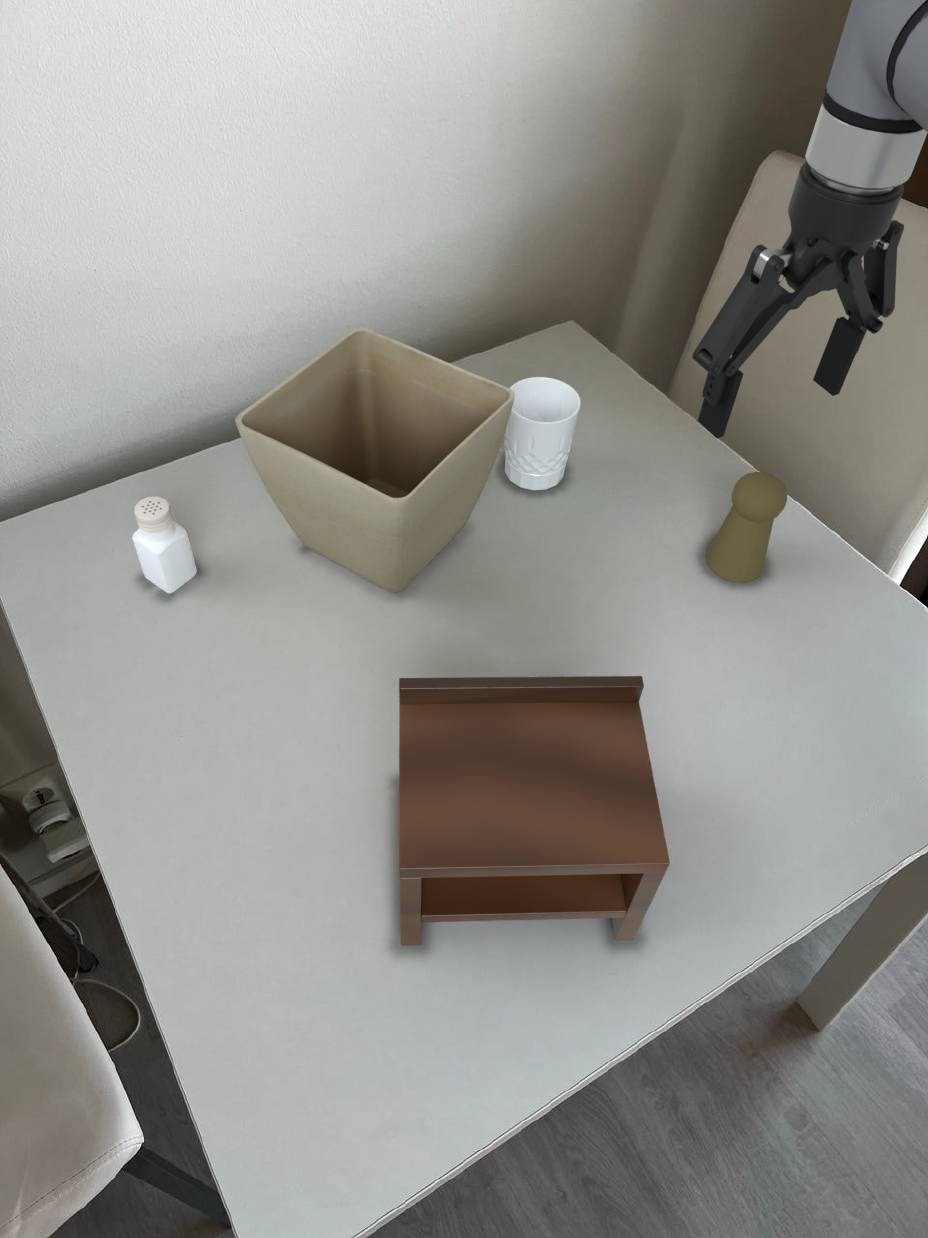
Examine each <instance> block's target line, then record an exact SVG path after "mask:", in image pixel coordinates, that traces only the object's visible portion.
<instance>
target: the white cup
mask: <svg viewBox="0 0 928 1238" xmlns="http://www.w3.org/2000/svg"><path fill="white" fill-rule="evenodd" d="M509 388H510V389H511V390H513V391H514V393H515V397H514V402H513V406H512V410H511V413H510V417H509V420H508V424H507V427H506V430H505V433H504V437H503V440H504V448H503V449H504V452H505V453H504V457H505V458H504V459H505V460H504V473H505V475H506V476H507V478H508V480H509V481H510V482H511V483H513V484H514V485H515V486H517V487H519V488H521V489H524V490H529V491H544V490H545V491H547V490H549V489H551V488H553V487H556V486H557V485H559V483H560V482H561V481H562V479H563V478H564V476H565V471H566V466H567V462H568V458H569V456H570V453H571V448H572V444H573V441H574V437H575V433H576V429H577V428H576V427H577V423H578V420H579V419H578V418H579V414H580V409H581V406H582V403H581V402H582V401H581V396H580V395H579V394H578V392H577V391H576V389H575V388H574V387H573V386H572V385H570V384H568V383H567V382H564V381H562V380H559V379H557V378H552V377H547V376H532V377H527V378H524V379H523V378H522V379H520V380H519V381H517V382H515V383H514V384H512V385H511V386H510V387H509Z"/></svg>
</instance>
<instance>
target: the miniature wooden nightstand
mask: <svg viewBox="0 0 928 1238" xmlns="http://www.w3.org/2000/svg"><path fill="white" fill-rule="evenodd" d="M644 688H645V684H644V678H643V676H642V675H615V676H614V675H601V676H600V675H596V676H595V675H594V676H592V675H591V676H585V675H583V676H491V677H490V676H479V677H478V676H475V677H471V676H469V677H468V676H467V677H466V676H465V677H399V678H398V698H399V699H398V703H399V705H398V707H399V709H398V710H399V711H398V713H399V714H398V724H399V725H398V726H399V728H398V759H399V760H398V772H399V773H398V887H399V888H398V890H399V924H400V925H399V926H400V927H399V928H400V931H399V932H400V946H421V944H422V943H421V942H422V940H421V937H422V923H453V922H457V923H459V922H460V923H461V922H497V921H498V922H499V921H503V922H504V921H541V920H543V921H544V920H585V919H587V920H588V919H611V923H612V924H611V925H612V929H613V938H614V940H615V941H633V940H635V938H636V935H637V934H638V932H639V929H640V927H641V925H642V923H643V921H644V919H645V917H646V915H647V913H648V910H649V908H650V906H651V904H652V902H653V900H654V898H655V897H656V894H657V892H658V890H659V888H660V885H661V883H662V881H663V880H664V877H665V875H666V873H667V871H668V868H669V867H670V864H671V861H670V856H669V851H668V846H667V845H668V844H667V841H666V840H667V839H666V836H665V831H664V830H665V829H664V825H663V820H662V814H661V809H660V804H659V799H658V794H657V788H656V784H655V779H654V773H653V767H652V763H651V756H650V752H649V747H648V741H647V735H646V732H645V726H644V721H643V715H642V710H641V705H640V700H641V697H642V694H643V691H644Z"/></svg>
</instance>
